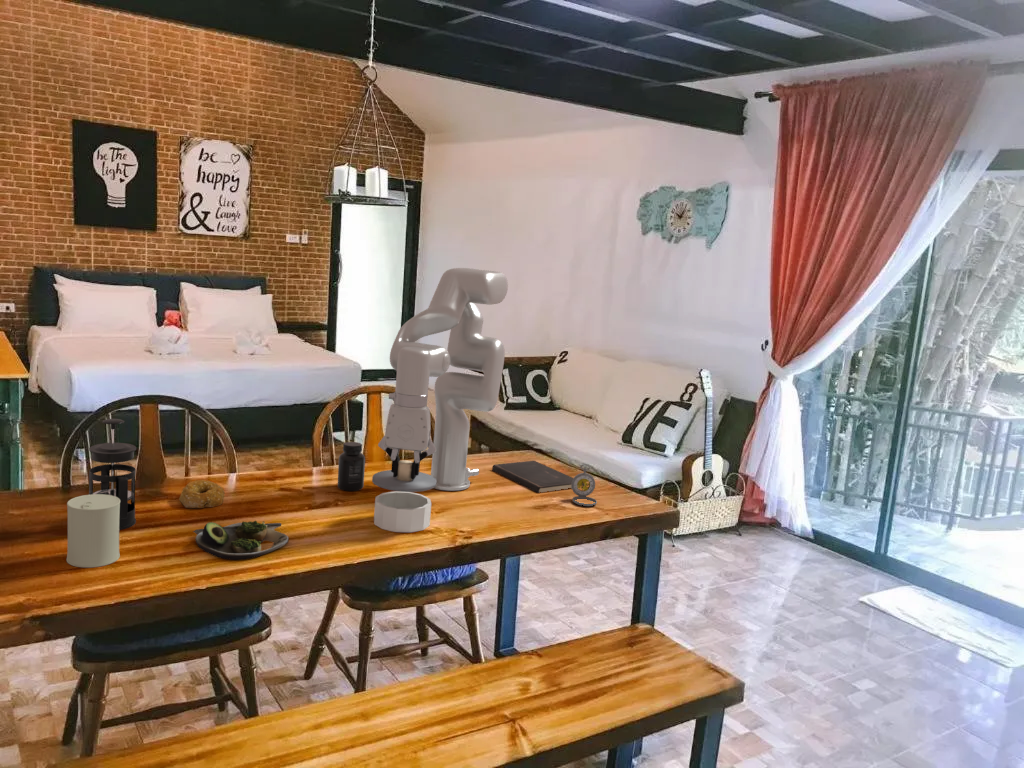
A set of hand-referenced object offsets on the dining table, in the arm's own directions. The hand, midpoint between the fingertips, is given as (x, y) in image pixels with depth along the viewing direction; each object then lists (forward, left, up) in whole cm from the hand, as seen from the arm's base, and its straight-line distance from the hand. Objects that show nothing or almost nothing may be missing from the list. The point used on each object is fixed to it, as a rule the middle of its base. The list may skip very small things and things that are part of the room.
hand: (404, 476), depth 191 cm
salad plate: (+38, -4, -12) cm, 40 cm away
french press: (+57, -26, -12) cm, 64 cm away
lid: (0, 0, -1) cm, 1 cm away
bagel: (+35, -32, -12) cm, 49 cm away
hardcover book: (-56, -14, -12) cm, 59 cm away
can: (+65, -9, -12) cm, 67 cm away
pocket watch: (-54, +8, -12) cm, 56 cm away
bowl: (0, 0, -12) cm, 12 cm away
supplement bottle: (-2, -28, -12) cm, 31 cm away
